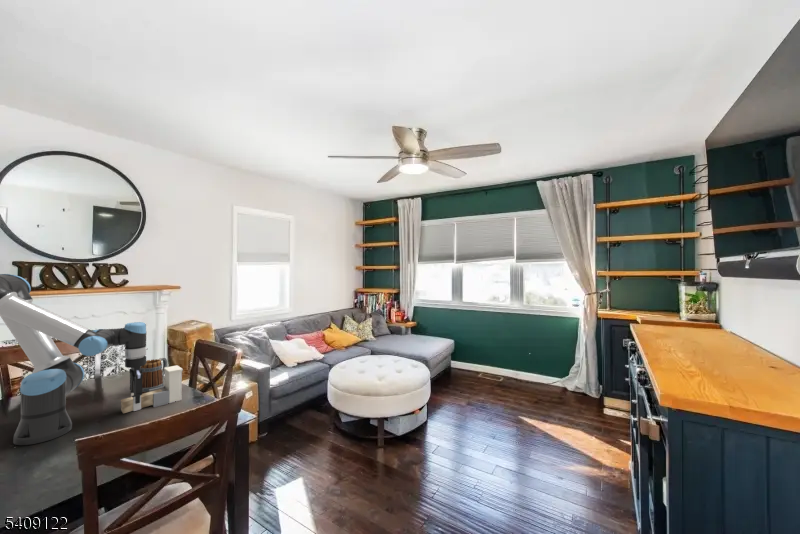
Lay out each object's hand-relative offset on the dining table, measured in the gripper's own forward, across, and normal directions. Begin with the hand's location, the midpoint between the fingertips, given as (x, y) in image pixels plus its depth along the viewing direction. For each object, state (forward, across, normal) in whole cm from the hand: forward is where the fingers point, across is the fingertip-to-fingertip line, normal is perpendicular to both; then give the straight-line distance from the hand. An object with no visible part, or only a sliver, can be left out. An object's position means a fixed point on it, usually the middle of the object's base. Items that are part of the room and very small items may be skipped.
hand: (136, 408), depth 148 cm
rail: (0, 0, -3) cm, 3 cm away
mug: (0, +23, -12) cm, 26 cm away
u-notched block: (0, 0, -12) cm, 12 cm away
